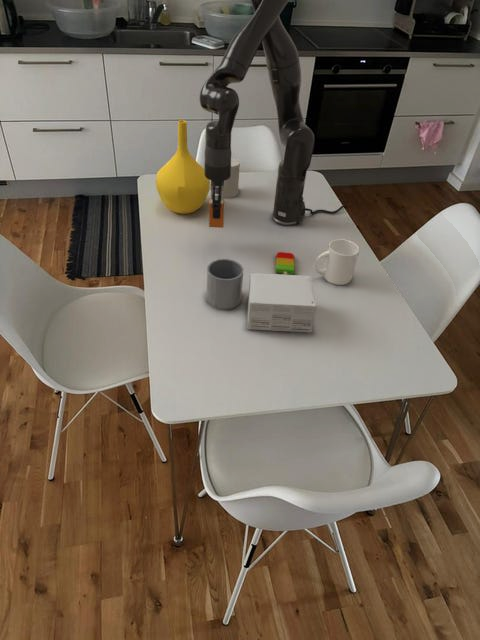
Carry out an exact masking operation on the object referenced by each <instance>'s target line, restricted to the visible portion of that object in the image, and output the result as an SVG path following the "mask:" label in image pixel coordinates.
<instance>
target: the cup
mask: <svg viewBox="0 0 480 640" xmlns="http://www.w3.org/2000/svg"><path fill="white" fill-rule="evenodd" d="M240 167H241V161H240V160H239V159H238V158H235V157H232V156H231V176H230V178H229V179H227V180H225V181H224V191H223V198H224V199H225V198H226V199H228V198H229V199H230V198H231V199H232V198H234V197H237V196H238V194H239V183H240Z"/></svg>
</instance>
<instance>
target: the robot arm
mask: <svg viewBox="0 0 480 640" xmlns="http://www.w3.org/2000/svg"><path fill="white" fill-rule="evenodd" d="M289 1H290V0H250V2H251V5H252V9H253V12H254V13H253V14H252V15H251V16H250V18H249V19H248V20H247V21H246V22H245V23H244V24H243V25H242V26H241V28H240V29H238V31H237V32H236V33H235V34H234V35H233V37H232V39H231V40H230V42H229V44H228V45H227V48H226V50H225V53H224V55H223V57H222V59H221V62H220V64H219V65H218V66H217V67H216V68H215V69H214V71H212V74H210V76H208V79H207V80H206V81H205V82H204V83H203V85H202V87H201V89H200V91H199V97H198V99H199V105H200V107H201V108H202V110H204V111H206V112H208V113H212V114H215V115H217V116H218V119H217V120H211V121H209V122H207V124H206V126H205V144H204V145H205V148H204V169H205V177H206V178H207V179H209V180H210V190H209V191H211V192H210V198H211V200H212V209H213V218H214V219H219V218H220V209H221V201H222V200H223V198H224V197H223V191H224V181H225V180H227V179H229V178H230V176H231V157H232V131H233V127H234V125H235V121H236V117H237V114H238V111H239V108H240V98H239V95H238V93H237V91H236V90H235V89H234V88H231V87H228V86H229V85H232V84H239V83H242V82H243V81H244V79H245V78H246V76H247V73H248V71H249V69H250V66H251V65H252V62H253V61H254V58H255V56H256V55H257V52H258V51H259V48H260V46H261V45H262V48H263V51H264V57H265V63H266V69H267V75H268V80H269V83H270V87H271V92H272V96H273V100H274V104H275V107H276V115H277V126H278V136H279V141H280V143H281V144H282V146H283V147H284V156H283V160H281V161H280V162H279V163H278V167H277V176H276V183H275V185H276V186H275V191H274V192H275V193H274V202H273V208H272V209H273V210H272V215H271V219H272V220H273V222H274V223H276V224H278V225H280V226H295V225H300V224H301V223H300V222H301V217H305V215H306V212H309V213H310V215H314V214H316V213H320V212H321V213H325V214H336V213H339V212H340V211H341V210H342V209H343V208H344V209H348V206H347V205H345V204H343V205H341V206H340V207H338V208H337V209H336V210H334V211H333V210H332V211H331V210H326V209H316V210H312V209H311V208H306V204H305V200H304V192H305V191H304V190H305V184H306V177H307V172H308V170H309V168H310V165H311V163H312V162H311V161H312V157H313V153H314V148H315V134H314V132H313V130H312V129H311V128H310V127H309V126H308V125H307V124H306V122H305V119H304V117H303V113H302V108H301V103H300V93H301V87H302V68H301V63H300V56H299V51H298V49H297V47H296V44H295V43H294V41H293V39H292V37H291V35H290V34H289V33H288V31H287V29H286V28H285V26H284V25H283V22H282V20H281V17H280V14H281V13H282V11H283V10H284V9H285V7H286V5H287V4H288V2H289Z"/></svg>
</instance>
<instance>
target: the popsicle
mask: <svg viewBox="0 0 480 640" xmlns="http://www.w3.org/2000/svg"><path fill="white" fill-rule="evenodd" d="M275 258H276V260H275V272H276V273H275V274H283V275H295V273H296V272H295V271H296V269H295V255H294V253H293V252H283V251H278V252H277V253H276V256H275Z"/></svg>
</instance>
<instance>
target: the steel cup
mask: <svg viewBox="0 0 480 640" xmlns="http://www.w3.org/2000/svg"><path fill="white" fill-rule="evenodd" d="M243 281H244V267H243V265H242V264H241V263H239V261H236V260H233V259H229V258H219V259H215V260H212V261H211V262H210V263H209V264H208V265H207V269H206V302H207V303H208V304H209V305H210V306H211V307H213V308H215V309H218V310H232V309H235V308H236V307H238V306H239V305H240V304H241V302H242V292H243V283H244V282H243Z"/></svg>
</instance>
